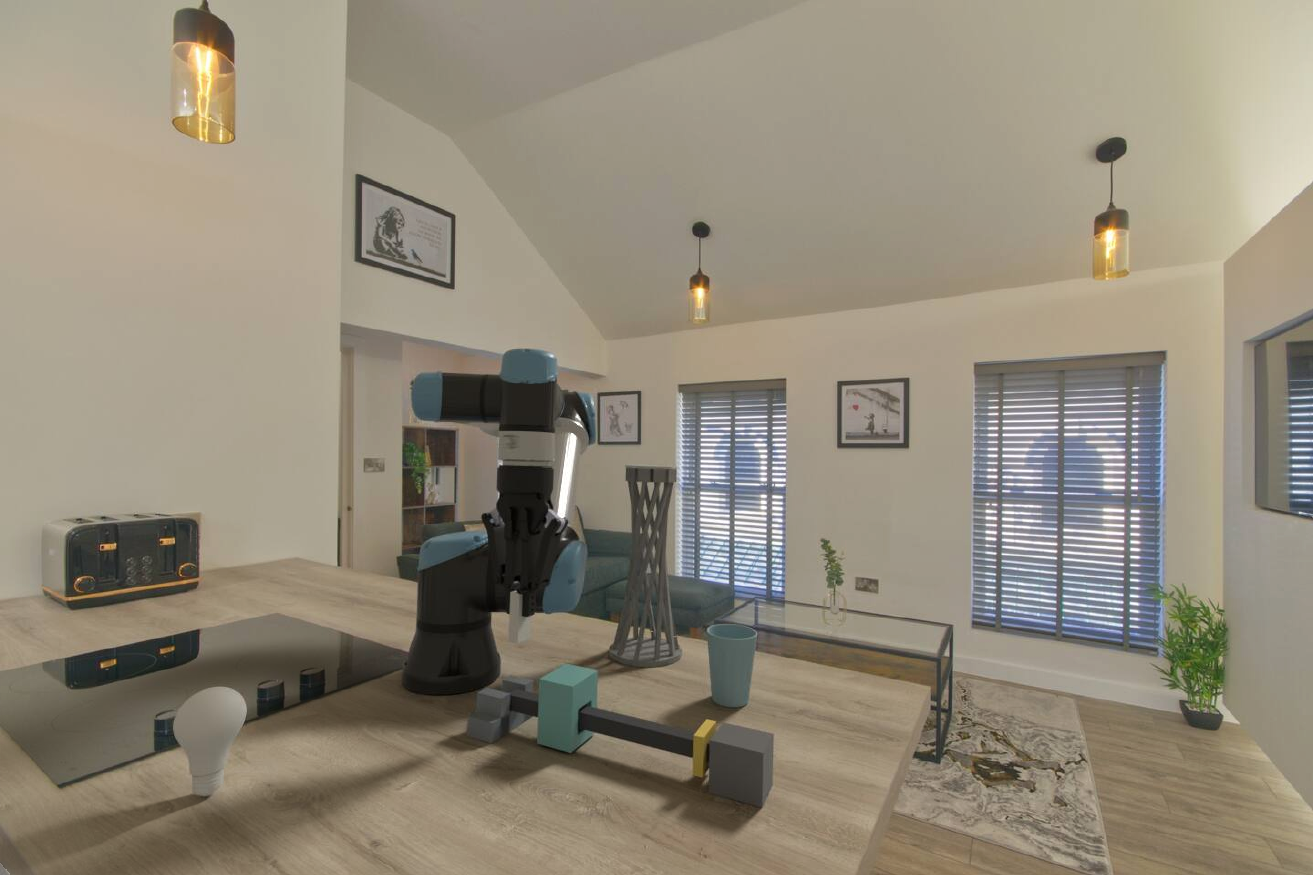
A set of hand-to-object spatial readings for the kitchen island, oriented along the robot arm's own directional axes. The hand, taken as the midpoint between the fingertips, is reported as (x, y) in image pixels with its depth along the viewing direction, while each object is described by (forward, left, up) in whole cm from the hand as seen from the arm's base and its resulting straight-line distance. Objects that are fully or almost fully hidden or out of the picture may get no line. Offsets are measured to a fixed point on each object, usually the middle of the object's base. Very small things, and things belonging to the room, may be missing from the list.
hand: (519, 639), depth 77 cm
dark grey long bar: (+16, 0, -10) cm, 19 cm away
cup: (+23, +22, -12) cm, 34 cm away
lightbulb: (-19, -27, -12) cm, 35 cm away
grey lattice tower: (+3, +34, -12) cm, 36 cm away
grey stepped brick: (-2, 0, -12) cm, 12 cm away
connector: (+31, 0, -12) cm, 33 cm away
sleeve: (+8, 0, -12) cm, 14 cm away
